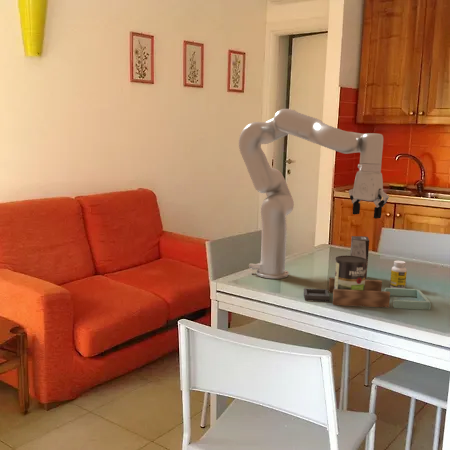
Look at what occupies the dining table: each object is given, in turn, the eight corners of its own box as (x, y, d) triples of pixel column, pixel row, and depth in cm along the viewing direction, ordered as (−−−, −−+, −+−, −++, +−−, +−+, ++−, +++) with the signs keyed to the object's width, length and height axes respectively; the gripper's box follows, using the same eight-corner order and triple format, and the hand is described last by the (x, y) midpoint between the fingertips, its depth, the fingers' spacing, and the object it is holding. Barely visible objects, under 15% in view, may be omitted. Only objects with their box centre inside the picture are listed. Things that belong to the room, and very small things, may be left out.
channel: (333, 304, 180) (333, 290, 179) (328, 291, 195) (329, 278, 194) (389, 307, 178) (390, 292, 178) (380, 294, 193) (381, 280, 192)
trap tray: (304, 300, 184) (305, 295, 184) (303, 293, 192) (303, 288, 192) (329, 301, 183) (329, 296, 183) (326, 294, 191) (327, 289, 191)
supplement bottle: (397, 290, 198) (399, 264, 196) (386, 286, 203) (388, 260, 201) (408, 288, 201) (410, 262, 199) (397, 284, 205) (399, 259, 204)
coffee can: (370, 301, 184) (373, 261, 182) (345, 305, 180) (347, 263, 178) (351, 293, 193) (354, 254, 191) (327, 296, 189) (329, 256, 187)
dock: (393, 307, 178) (394, 300, 178) (384, 294, 193) (385, 287, 193) (430, 309, 177) (430, 302, 177) (418, 295, 192) (418, 289, 192)
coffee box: (366, 282, 208) (369, 240, 205) (349, 281, 209) (352, 239, 206) (365, 276, 216) (368, 236, 214) (349, 275, 218) (351, 235, 215)
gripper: (344, 166, 199) (341, 213, 202) (383, 170, 185) (379, 220, 188) (358, 166, 203) (354, 212, 206) (397, 170, 190) (392, 219, 193)
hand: (366, 216), depth 197 cm, fingers open, 9 cm apart
